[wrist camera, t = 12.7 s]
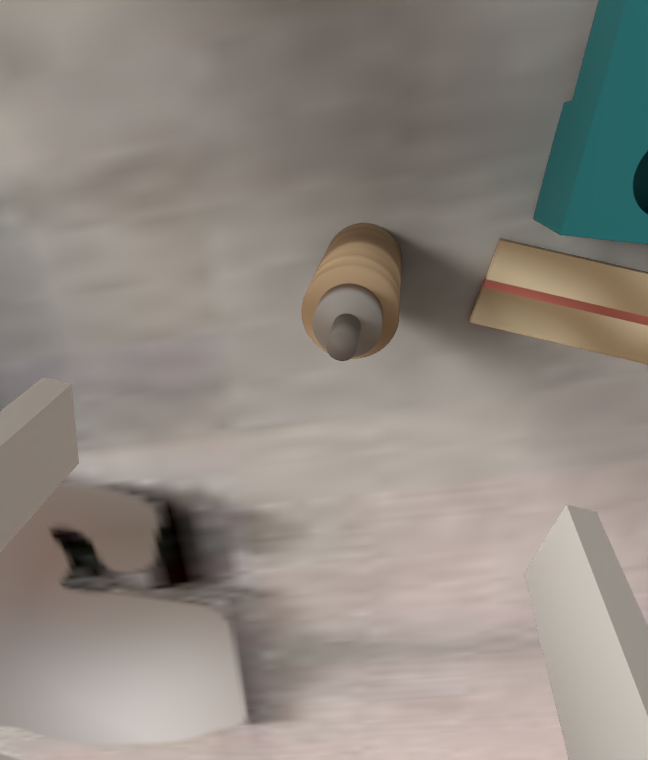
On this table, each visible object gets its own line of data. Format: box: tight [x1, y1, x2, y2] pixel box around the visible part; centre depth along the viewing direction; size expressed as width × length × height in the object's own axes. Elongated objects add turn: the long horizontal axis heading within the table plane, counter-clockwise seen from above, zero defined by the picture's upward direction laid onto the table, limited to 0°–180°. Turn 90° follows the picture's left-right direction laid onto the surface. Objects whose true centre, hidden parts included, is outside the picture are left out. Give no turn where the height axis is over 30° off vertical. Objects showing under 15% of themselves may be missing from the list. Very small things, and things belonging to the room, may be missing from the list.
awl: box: [302, 223, 402, 361], centre depth 24 cm, size 4×4×11 cm
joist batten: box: [469, 239, 648, 364], centre depth 28 cm, size 5×16×1 cm, turn 79°
